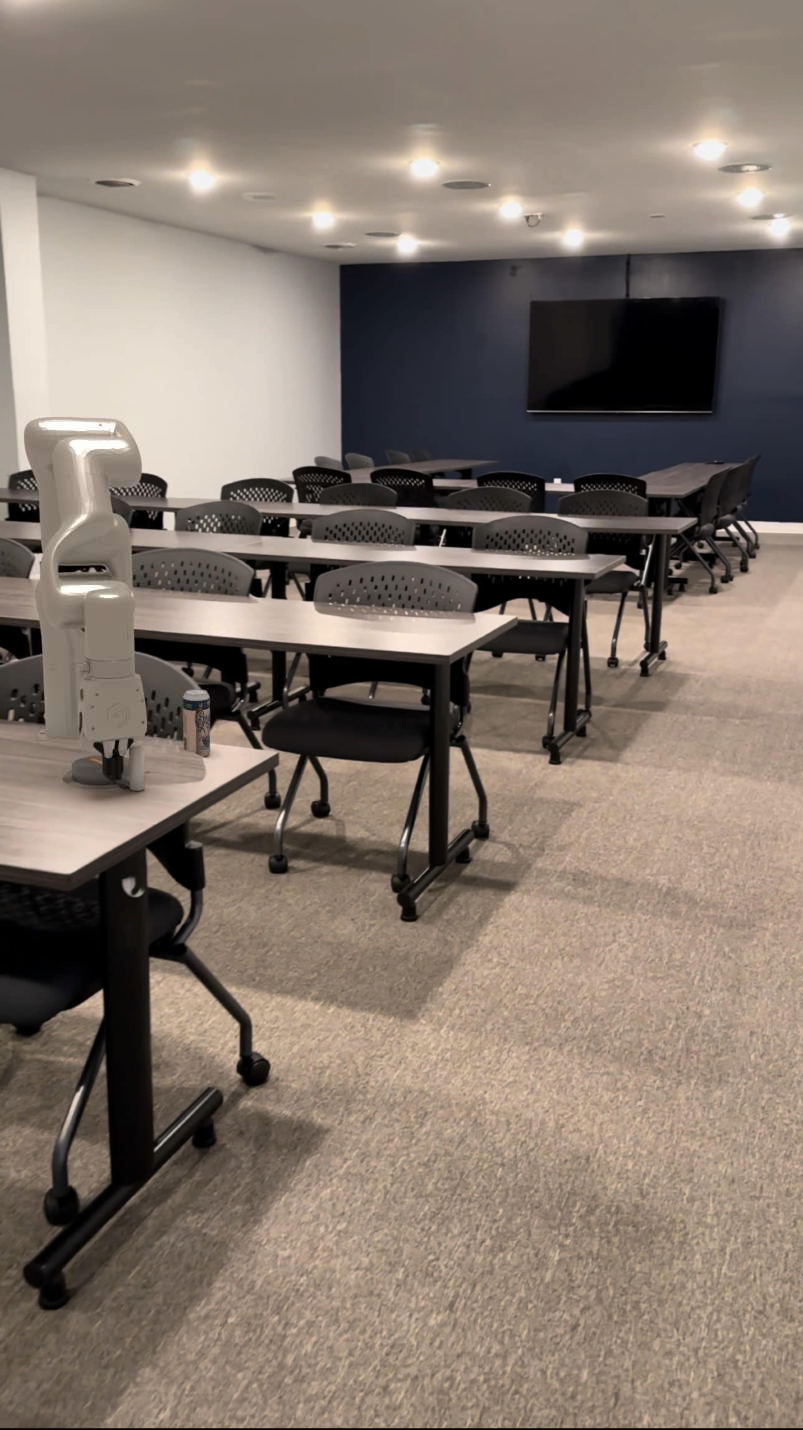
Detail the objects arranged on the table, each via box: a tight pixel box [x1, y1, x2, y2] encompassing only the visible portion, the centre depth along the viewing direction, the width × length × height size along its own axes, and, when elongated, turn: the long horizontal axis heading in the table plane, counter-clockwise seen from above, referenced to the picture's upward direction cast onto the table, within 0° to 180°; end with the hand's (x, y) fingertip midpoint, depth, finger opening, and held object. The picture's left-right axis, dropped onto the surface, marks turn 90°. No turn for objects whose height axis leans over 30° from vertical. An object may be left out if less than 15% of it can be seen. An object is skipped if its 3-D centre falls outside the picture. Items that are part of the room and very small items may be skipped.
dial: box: [71, 744, 146, 792], centre depth 203 cm, size 16×10×7 cm, turn 49°
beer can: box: [182, 688, 211, 758], centre depth 223 cm, size 5×5×12 cm
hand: (113, 778), depth 197 cm, fingers closed
